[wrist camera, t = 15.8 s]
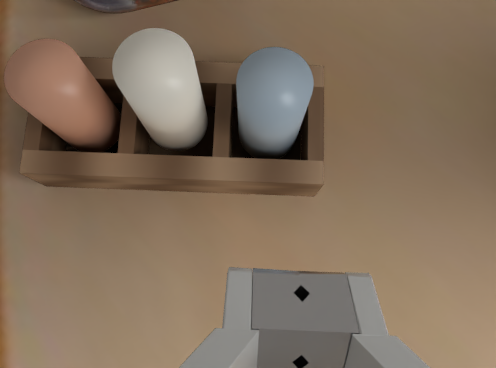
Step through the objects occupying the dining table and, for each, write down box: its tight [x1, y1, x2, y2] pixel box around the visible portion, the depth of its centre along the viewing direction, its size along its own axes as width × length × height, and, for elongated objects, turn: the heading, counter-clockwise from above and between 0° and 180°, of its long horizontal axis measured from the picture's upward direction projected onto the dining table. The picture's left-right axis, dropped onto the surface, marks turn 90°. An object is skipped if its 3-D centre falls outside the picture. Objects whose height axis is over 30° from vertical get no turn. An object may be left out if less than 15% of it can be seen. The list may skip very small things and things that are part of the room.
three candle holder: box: [19, 57, 324, 196], centre depth 31 cm, size 19×8×4 cm, turn 88°
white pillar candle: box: [112, 28, 208, 151], centre depth 26 cm, size 4×4×8 cm
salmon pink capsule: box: [4, 39, 121, 153], centre depth 27 cm, size 4×4×8 cm
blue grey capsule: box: [236, 47, 314, 159], centre depth 27 cm, size 4×4×8 cm
